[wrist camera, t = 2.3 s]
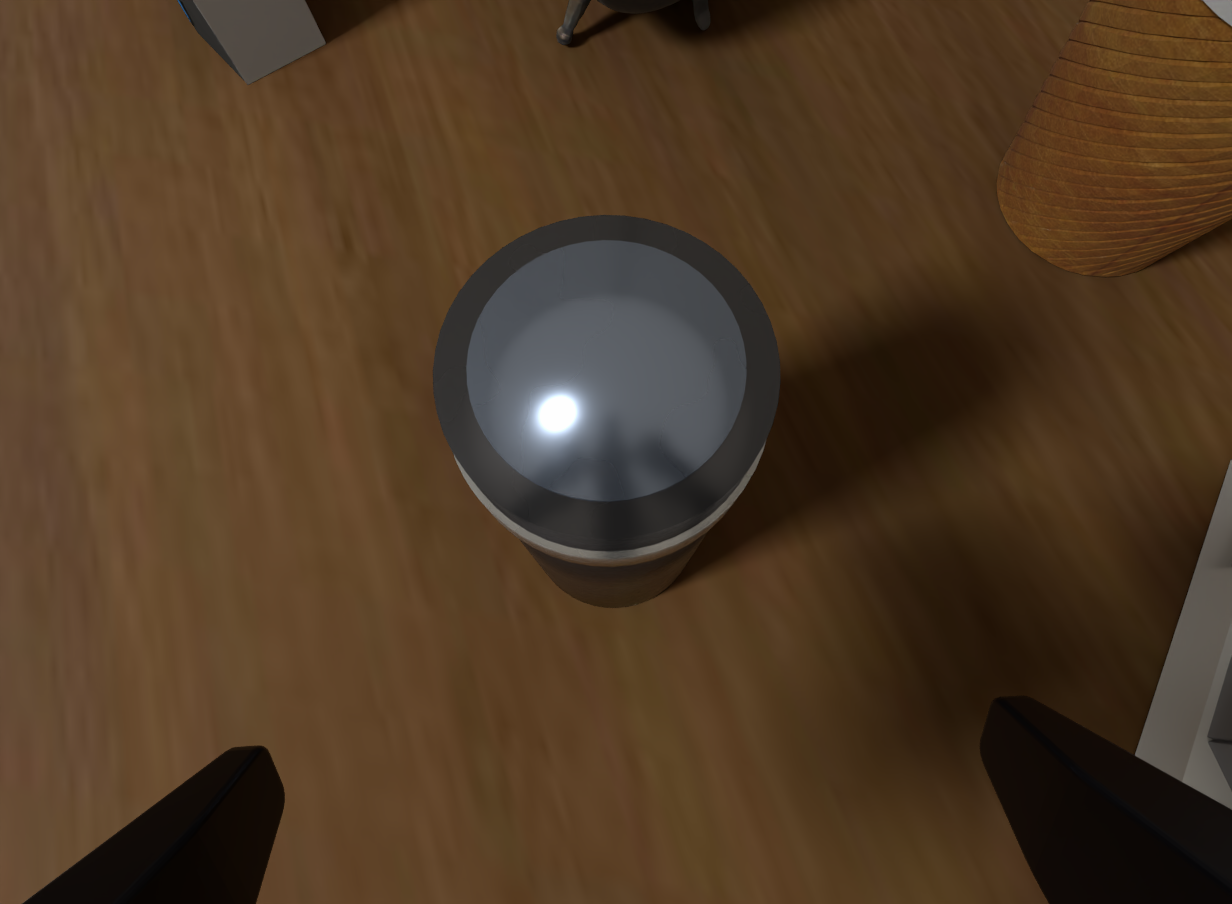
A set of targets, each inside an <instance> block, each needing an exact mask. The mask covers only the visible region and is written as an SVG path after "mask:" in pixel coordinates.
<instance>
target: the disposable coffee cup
mask: <svg viewBox="0 0 1232 904" xmlns="http://www.w3.org/2000/svg"><path fill="white" fill-rule="evenodd" d="M1041 91H1042V92H1040V93H1039V94H1038V96H1037V97H1036V98H1035V101H1034V103H1033V107H1032V108H1031V109H1030V110H1029V112H1028V113H1027V116H1026V118H1025V121H1026V122H1023V123H1022V125H1021V127H1020V129H1019V131H1018V133H1017V134H1018V136H1015V138H1014V140H1013V142H1012V144H1011V146H1010V148H1009V149H1008V150H1007V152H1006V154H1005V156H1004V158H1003V160H1002V162H1001V164H1000V167H999V173H998V178H997V196H998V200H999V204H1000V208H1001V211H1002V213H1003V215H1004V217H1005V219H1006V221H1007V223H1008V225H1009V226H1010V228H1011V229H1012V230H1013V232H1014V233H1015V234H1016V236H1017V237H1018V238H1019V240H1020V241H1022V242H1023V243H1024V244H1025V245H1026V246H1027V247H1028V248H1029V249H1030V250H1031V251H1032V252H1034V253H1035V254H1037V255H1038V256H1040V257H1042V258H1043V259H1045V260H1046V261H1048V262H1049V263H1051V264H1053V265H1055V266H1058V267H1060V268H1062V269H1064V270H1067V271H1071V272H1074V273H1078V274H1082V275H1089V276H1101V277H1111V276H1122V275H1126V274H1129V273H1133V272H1137V271H1139V270H1141V269H1143V268H1145V267H1147V266H1149V265H1151V264H1153V263H1154V262H1156V261H1158V260H1160V259H1161V258H1163V257H1165V256H1166V255H1168V254H1170V253H1172V252H1174V251H1175V250H1177V249H1179V248H1181V247H1183V246H1184V245H1186V244H1188V243H1190V242H1191V241H1193V240H1195V239H1197V238H1199V237H1201V236H1202V235H1204V234H1206V233H1208V232H1209V231H1211V230H1213V229H1215V228H1217V227H1218V226H1220V225H1222V224H1224V223H1226V222H1227V221H1229V220H1231V219H1232V0H1090V2H1089V3H1087V5H1086V7H1085V9H1084V11H1083V13H1082V15H1081V17H1080V19H1079V23H1077V24H1076V26H1075V28H1074V29H1073V31H1072V32H1071V34H1070V37H1069V41H1067V43H1066V44H1065V46H1064V48H1063V49H1062V51H1061V53H1060V56H1059V59H1058V60H1057V61H1056V63H1055V64H1054V65H1053V67H1052V70H1051V72H1050V76H1049V77H1048V78H1047V79H1046V80H1045V82H1044V84H1043V86H1042V89H1041Z"/></svg>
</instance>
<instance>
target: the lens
mask: <svg viewBox="0 0 1232 904" xmlns="http://www.w3.org/2000/svg"><path fill="white" fill-rule="evenodd" d="M433 389H434V398H435V404H436V409H437V414H438V417H439V421H440V424H441V427H442V430H443V433H444V435H445V437H446V440H447V442H448V444H449V446H450V448H451V450H452V452H453V454H454V457H455V460H456V462H457V464H458V466H459V468H460V470H461V472H462V474H463V476H464V478H465V480H466V481H467V483H468V484H469V486H470V487H471V489H472V490H473V492H474V493H475V495H476V496H477V497H478V499H479V500H480V501H481V502H482V503H483V504H484V506H485V507H486V508H487V509H488V510H489V511H490V513H491V514H492V515H493V516H494V517H495V518H496V519H497V520H498V521H499V523H500V524H501V525H503V526H504V527H505V528H506V529H507V530H508V531H510V532H511V533H512V534H513V535H514V536H515V537H517V538H519V540H520V541H521V542H522V543H523V545H524V546H525V547H526V548H527V550H528V551H529V552H530V553H531V555H532V556H533V557H534V558H535V560H536V561H537V562H538V563H539V565H540V566H541V567H542V569H543V570H544V571H545V572H546V574H547V575H548V576H549V577H550V578H551V579H552V581H553V582H554V583H555V584H556V585H557V586H558V587H559V588H561V589H562V590H563V591H564V592H566V593H567V594H569V595H570V596H572V597H573V598H575V599H577V600H580V601H582V602H584V603H587V604H590V605H594V606H599V607H605V608H620V607H628V606H633V605H637V604H640V603H642V602H645V601H648V600H650V599H651V598H653V597H655V596H657V595H658V594H660V593H661V592H663V591H664V590H665V589H667V588H668V587H669V586H670V585H671V584H672V583H673V582H674V581H675V580H676V578H677V577H678V576H679V575H680V573H681V572H682V570H683V569H684V567H685V566H686V564H687V563H688V561H689V560H690V558H691V557H692V555H693V554H694V552H695V551H696V549H697V548H698V546H699V545H700V543H701V541H702V540H703V538H704V537H705V535H706V534H707V532H708V531H709V530H710V529H711V528H712V527H713V526H714V525H715V524H716V523H717V522H718V521H719V520H720V519H721V518H722V517H723V516H724V515H725V514H726V512H727V511H728V510H729V509H730V507H731V506H732V505H733V504H734V502H735V501H736V500H737V498H738V497H739V495H740V494H741V492H742V491H743V490H744V488H745V486H746V485H747V483H748V481H749V480H750V478H751V476H752V475H753V473H754V471H755V469H756V467H757V465H758V462H759V460H760V458H761V455H762V453H763V450H764V446H765V443H766V439H767V436H768V434H769V432H770V429H771V427H772V424H773V421H774V417H775V413H776V409H777V405H778V399H779V390H780V359H779V353H778V347H777V341H776V338H775V335H774V332H773V328H772V325H771V322H770V319H769V317H768V315H767V313H766V311H765V309H764V307H763V305H762V302H761V301H760V299H759V298H758V296H757V295H756V293H755V291H754V290H753V288H752V287H751V285H750V284H749V283H748V281H747V280H746V279H745V278H744V277H743V276H742V274H741V273H740V272H739V271H738V270H737V269H736V268H735V267H734V266H733V265H732V264H731V263H730V262H729V261H728V260H727V259H726V258H724V257H723V256H722V255H721V254H720V253H718V252H717V251H716V250H714V249H713V248H711V247H710V246H709V245H707V244H706V243H704V242H703V241H701V240H699V239H697V238H695V237H693V236H692V235H690V234H688V233H686V232H684V231H681V230H679V229H676V228H674V227H671V226H669V225H666V224H663V223H659V222H655V221H651V220H648V219H643V218H636V217H629V216H617V215H598V216H586V217H578V218H573V219H568V220H563V221H559V222H556V223H553V224H550V225H547V226H544V227H541V228H538V229H536V230H534V231H532V232H530V233H527V234H525V235H523V236H521V237H519V238H518V239H516V240H514V241H513V242H511V243H509V244H508V245H506V246H505V247H503V248H502V249H500V250H499V251H498V252H497V253H495V254H494V255H493V256H492V257H490V258H489V259H488V260H487V261H486V262H485V263H484V264H483V265H482V266H481V267H480V268H479V269H478V270H477V271H476V272H475V273H474V274H473V275H472V276H471V277H470V278H469V280H468V281H467V282H466V284H465V285H464V286H463V288H462V289H461V290H460V292H459V293H458V295H457V297H456V298H455V300H454V302H453V304H452V305H451V307H450V309H449V311H448V313H447V315H446V318H445V320H444V323H443V325H442V328H441V330H440V334H439V338H438V342H437V346H436V350H435V358H434V367H433Z"/></svg>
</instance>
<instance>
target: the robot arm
mask: <svg viewBox="0 0 1232 904" xmlns="http://www.w3.org/2000/svg"><path fill="white" fill-rule="evenodd" d="M980 753H981V758H982V761H983V764H984V767H985V769H986V771H987V773H988V776H989V778H990V780H991V782H992V785H993V787H994V789H995V791H996V794H997V796H998V798H999V800H1000V803H1001V805H1002V807H1003V809H1004V812H1005V814H1006V816H1007V818H1008V821H1009V823H1010V825H1011V827H1012V830H1013V832H1014V834H1015V836H1016V839H1017V841H1018V843H1019V845H1020V848H1021V850H1022V852H1023V854H1024V857H1025V859H1026V861H1027V863H1028V865H1029V867H1030V869H1031V871H1032V873H1033V875H1034V877H1035V879H1036V881H1037V883H1038V884H1039V886H1040V888H1041V890H1042V892H1043V894H1044V895H1045V897H1046V899H1047V901H1048V902H1049V904H1232V809H1230V808H1228V807H1226V806H1225V805H1223V804H1221V803H1219V802H1218V801H1216V800H1214V799H1212V798H1210V797H1209V796H1207V795H1205V794H1203V793H1201V792H1200V791H1198V790H1196V789H1194V788H1192V787H1191V786H1189V785H1187V784H1185V783H1183V782H1182V781H1180V780H1178V779H1176V778H1174V777H1173V776H1171V775H1169V774H1167V773H1165V772H1164V771H1162V770H1160V769H1158V768H1156V767H1155V766H1153V765H1151V764H1149V763H1148V762H1146V761H1144V760H1142V759H1140V758H1139V757H1137V756H1135V755H1133V754H1131V753H1130V752H1128V751H1126V750H1124V749H1122V748H1121V747H1119V746H1117V745H1115V744H1113V743H1112V742H1110V741H1108V740H1106V739H1104V738H1103V737H1101V736H1099V735H1097V734H1095V733H1094V732H1092V731H1090V730H1088V729H1087V728H1085V727H1083V726H1081V725H1079V724H1078V723H1076V722H1074V721H1072V720H1070V719H1069V718H1067V717H1065V716H1063V715H1061V714H1060V713H1058V712H1056V711H1054V710H1052V709H1051V708H1049V707H1047V706H1045V705H1043V704H1042V703H1040V702H1038V701H1036V700H1034V699H1032V698H1030V697H1028V696H1008V697H998V698H995V699H994V700H993V701H992V702H991V705H990V708H989V711H988V715H987V718H986V722H985V725H984V729H983V732H982V736H981V739H980ZM284 802H285V793H284V787H283V784H282V782H281V779H280V777H279V774H278V772H277V770H276V767H275V765H274V762H273V760H272V758H271V755H270V753H269V751H268V750H267V749H266V748H265V747H264V746H244V747H234V748H231V749H229V750H227V751H226V752H224V753H223V754H222V755H220V756H219V757H218V758H216V759H215V760H214V761H212V762H211V763H210V764H208V765H207V766H206V767H204V768H203V769H202V770H200V771H199V772H197V773H196V774H195V775H193V776H192V777H191V778H189V779H188V780H187V781H185V782H184V783H183V784H181V785H180V786H179V787H177V788H176V789H175V790H173V791H172V792H171V793H169V794H168V795H167V796H165V797H164V798H163V799H161V800H160V801H159V802H157V803H156V804H155V805H153V806H152V807H151V808H149V809H148V810H147V811H145V812H144V813H143V814H141V815H140V816H139V817H137V818H136V819H135V820H133V821H132V822H131V823H129V824H128V825H127V826H125V827H124V828H123V829H121V830H120V831H119V832H117V833H116V834H115V835H113V836H112V837H111V838H109V839H108V840H107V841H105V842H104V843H103V844H101V845H100V846H99V847H97V848H96V849H95V850H93V851H92V852H91V853H89V854H88V855H87V856H85V857H84V858H83V859H81V860H80V861H79V862H77V863H76V864H75V865H73V866H72V867H71V868H69V869H68V870H67V871H65V872H64V873H63V874H61V875H60V876H58V877H57V878H56V879H54V880H53V881H52V882H50V883H49V884H48V885H46V886H45V887H44V888H42V889H41V890H40V891H38V892H37V893H36V894H34V895H33V896H32V897H30V898H29V899H28V900H26V901H25V902H24V903H22V904H256V902H257V898H258V895H259V892H260V888H261V885H262V881H263V878H264V874H265V871H266V868H267V864H268V861H269V857H270V854H271V851H272V847H273V844H274V840H275V837H276V834H277V830H278V827H279V823H280V820H281V816H282V813H283V809H284Z"/></svg>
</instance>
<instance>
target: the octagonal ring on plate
mask: <svg viewBox="0 0 1232 904" xmlns="http://www.w3.org/2000/svg"><path fill="white" fill-rule="evenodd" d="M1135 756H1137V757H1139V758H1140V759H1142V760H1144V761H1146V762H1148V763H1149V764H1151V765H1153V766H1155V767H1156V768H1158V769H1160V770H1162V771H1164V772H1165V773H1167V774H1169V775H1171V776H1173V777H1174V778H1176V779H1178V780H1180V781H1182V782H1183V783H1185V784H1187V785H1189V786H1191V787H1192V788H1194V789H1196V790H1198V791H1200V792H1201V793H1203V794H1205V795H1207V796H1209V797H1210V798H1212V799H1214V800H1216V801H1218V802H1219V803H1221V804H1223V805H1225V806H1226V807H1228V808H1230V809H1232V459H1231V461H1230V464H1229V467H1228V470H1227V473H1226V476H1225V479H1224V482H1223V486H1222V489H1221V492H1220V495H1219V498H1218V501H1217V504H1216V507H1215V510H1214V513H1213V516H1212V519H1211V522H1210V526H1209V529H1208V532H1207V535H1206V538H1205V541H1204V544H1203V547H1202V550H1201V553H1200V556H1199V559H1198V562H1197V566H1196V569H1195V572H1194V575H1193V578H1192V581H1191V584H1190V587H1189V590H1188V593H1187V596H1186V599H1185V602H1184V605H1183V609H1182V612H1181V615H1180V618H1179V621H1178V624H1177V627H1176V630H1175V633H1174V636H1173V639H1172V642H1171V645H1170V649H1169V652H1168V655H1167V658H1166V661H1165V664H1164V667H1163V670H1162V673H1161V676H1160V679H1159V682H1158V685H1157V689H1156V692H1155V695H1154V698H1153V701H1152V704H1151V707H1150V710H1149V713H1148V716H1147V719H1146V722H1145V725H1144V729H1143V732H1142V735H1141V738H1140V741H1139V744H1138V747H1137V750H1136V753H1135Z"/></svg>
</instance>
